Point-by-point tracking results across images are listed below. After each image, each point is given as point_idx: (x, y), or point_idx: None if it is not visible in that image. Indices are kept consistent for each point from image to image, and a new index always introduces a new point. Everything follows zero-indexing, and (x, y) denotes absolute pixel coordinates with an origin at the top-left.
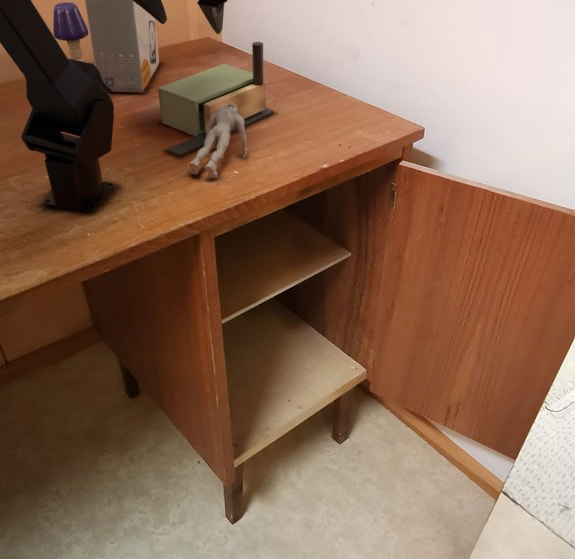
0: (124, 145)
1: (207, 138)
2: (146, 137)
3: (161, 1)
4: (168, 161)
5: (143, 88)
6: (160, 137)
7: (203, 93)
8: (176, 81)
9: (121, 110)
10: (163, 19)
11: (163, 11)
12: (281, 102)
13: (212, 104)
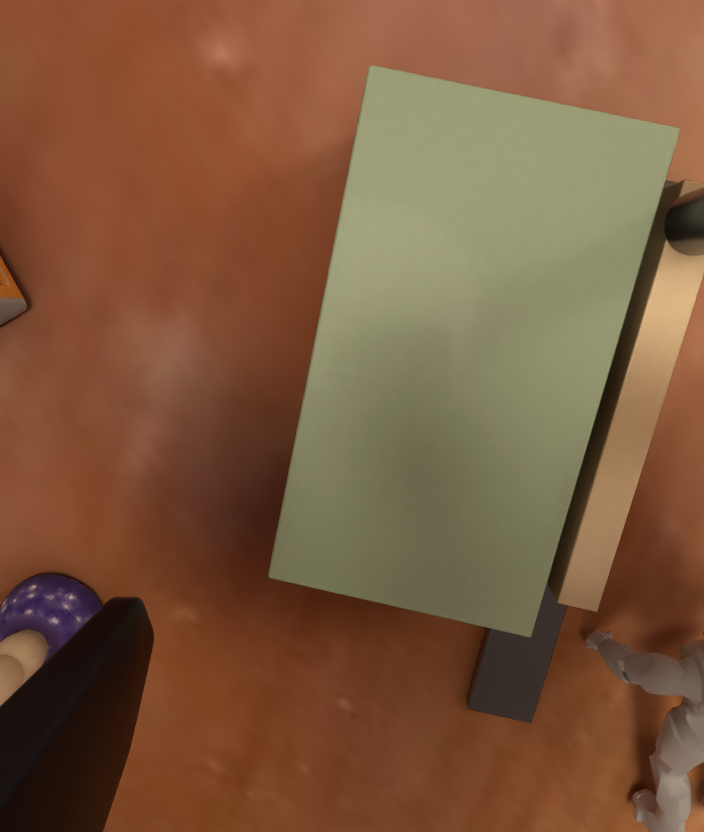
0: (300, 721)
1: (679, 764)
2: (326, 640)
3: (33, 765)
4: (507, 750)
5: (15, 292)
6: (371, 618)
7: (514, 537)
8: (298, 469)
9: (82, 491)
10: (139, 661)
11: (106, 694)
12: (664, 29)
13: (602, 592)
